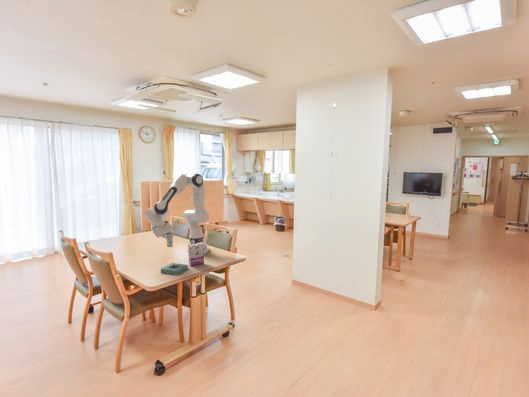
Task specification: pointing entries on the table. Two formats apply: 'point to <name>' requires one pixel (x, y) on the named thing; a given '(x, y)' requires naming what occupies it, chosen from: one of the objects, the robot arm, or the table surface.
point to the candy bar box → (196, 254)
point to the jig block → (174, 268)
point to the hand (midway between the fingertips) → (170, 238)
